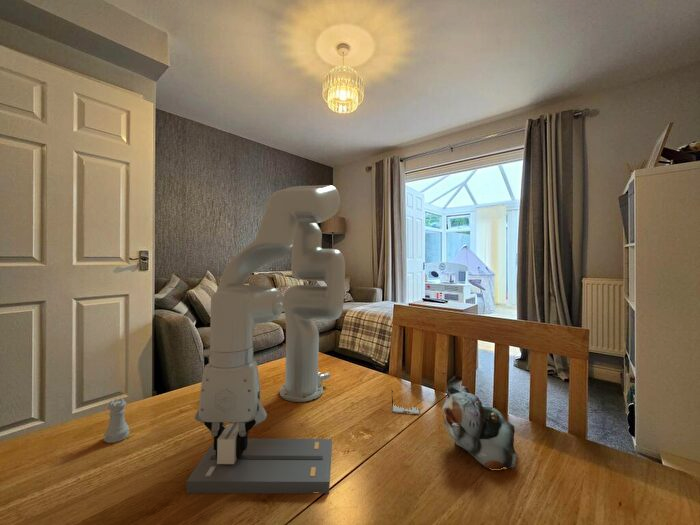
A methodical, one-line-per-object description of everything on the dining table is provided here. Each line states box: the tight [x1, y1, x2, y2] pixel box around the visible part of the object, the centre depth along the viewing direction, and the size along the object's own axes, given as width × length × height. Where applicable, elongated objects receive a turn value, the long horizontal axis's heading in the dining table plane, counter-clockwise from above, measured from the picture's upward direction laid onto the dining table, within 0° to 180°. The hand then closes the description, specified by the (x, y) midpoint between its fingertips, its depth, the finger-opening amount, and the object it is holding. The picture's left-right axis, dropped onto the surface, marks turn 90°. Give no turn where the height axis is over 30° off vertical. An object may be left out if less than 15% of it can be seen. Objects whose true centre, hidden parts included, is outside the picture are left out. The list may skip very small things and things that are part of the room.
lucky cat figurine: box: [441, 385, 518, 469], centre depth 64 cm, size 15×12×14 cm
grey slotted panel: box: [185, 438, 333, 494], centre depth 57 cm, size 24×12×2 cm, turn 91°
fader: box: [217, 423, 239, 464], centre depth 57 cm, size 3×5×5 cm, turn 1°
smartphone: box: [391, 404, 421, 415], centre depth 85 cm, size 7×1×15 cm
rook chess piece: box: [103, 398, 131, 444], centre depth 65 cm, size 4×4×8 cm
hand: (230, 452), depth 57 cm, fingers closed on fader, 3 cm apart
